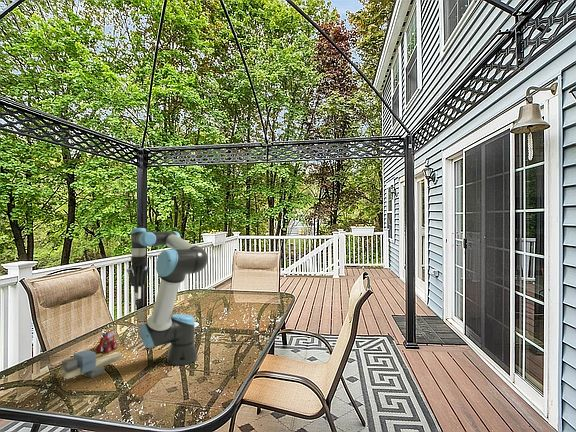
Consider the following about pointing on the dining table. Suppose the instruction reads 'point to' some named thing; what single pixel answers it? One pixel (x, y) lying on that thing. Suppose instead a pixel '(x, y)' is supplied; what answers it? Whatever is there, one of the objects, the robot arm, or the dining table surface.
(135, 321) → the dining table surface
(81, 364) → the grey block
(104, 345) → the toy fire truck
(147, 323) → the robot arm
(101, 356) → the rock
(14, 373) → the dining table surface
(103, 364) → the beam
